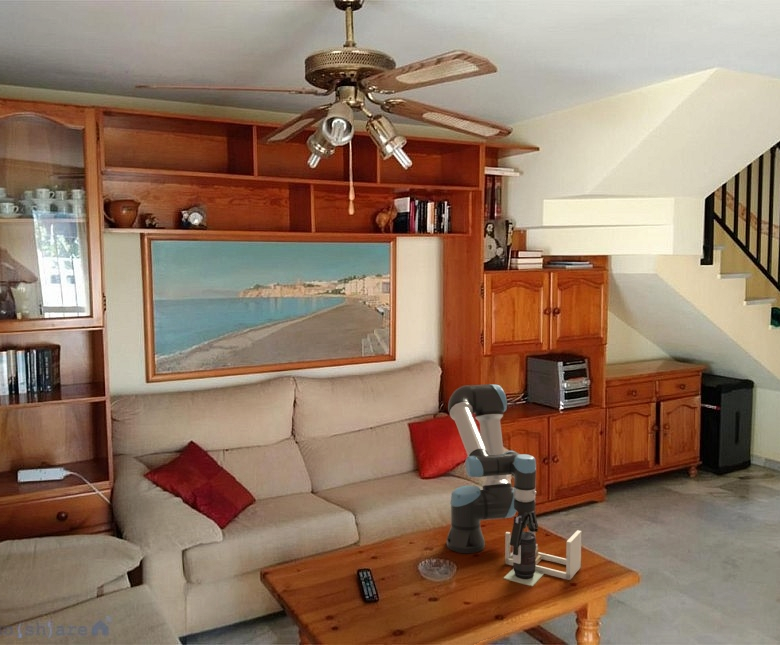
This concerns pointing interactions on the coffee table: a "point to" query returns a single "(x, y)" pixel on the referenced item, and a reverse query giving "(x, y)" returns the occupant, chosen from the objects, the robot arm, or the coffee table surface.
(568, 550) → the rack
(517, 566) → the camera lens
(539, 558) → the plate
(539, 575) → the mat
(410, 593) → the coffee table surface
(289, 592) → the coffee table surface
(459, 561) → the coffee table surface
